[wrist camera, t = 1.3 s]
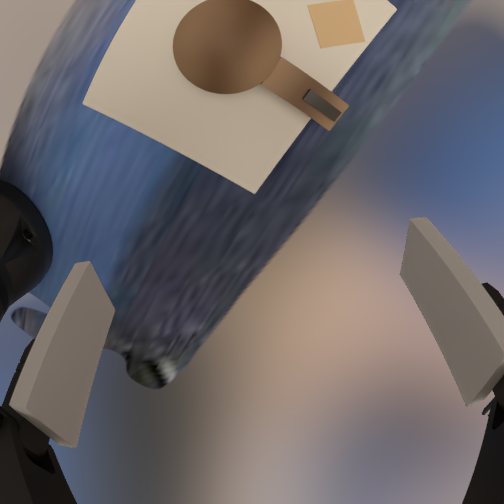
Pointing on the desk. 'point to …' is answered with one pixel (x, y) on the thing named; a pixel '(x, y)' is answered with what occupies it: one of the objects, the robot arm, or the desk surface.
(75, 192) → the desk surface
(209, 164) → the board
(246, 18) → the brown frying pan
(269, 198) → the desk surface
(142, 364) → the desk surface
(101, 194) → the desk surface
